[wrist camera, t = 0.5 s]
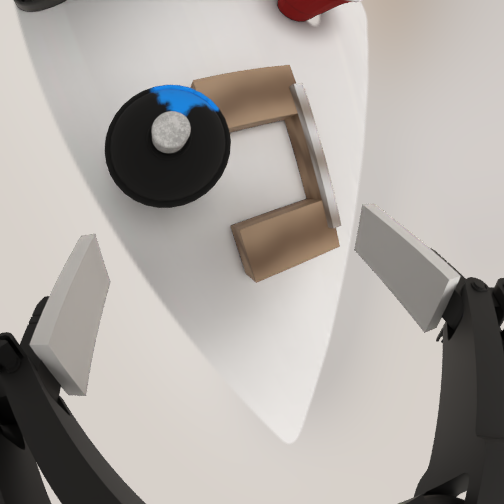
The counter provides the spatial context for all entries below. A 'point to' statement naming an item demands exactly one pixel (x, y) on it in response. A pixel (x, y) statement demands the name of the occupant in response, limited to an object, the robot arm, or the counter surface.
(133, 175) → the aerosol can
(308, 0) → the plastic cup
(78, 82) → the counter surface
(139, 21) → the counter surface
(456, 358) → the robot arm
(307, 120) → the cutout stand
